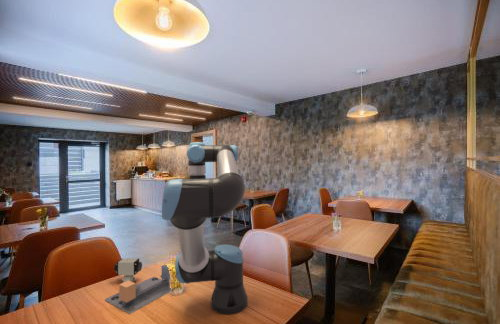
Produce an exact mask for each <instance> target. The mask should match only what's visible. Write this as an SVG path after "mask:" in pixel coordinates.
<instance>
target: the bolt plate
mask: <svg viewBox="0 0 500 324" xmlns="http://www.w3.org/2000/svg"><path fill="white" fill-rule="evenodd" d="M160 281H162V278H159V277H156V276H151V277H150V278H148V279H145V280H143V281H141V282H139V283H135V287H136V293H138V292H140V291H142V290H144V289H146V288H148V287H150V286H152V285H154V284H156V283H158V282H160ZM170 283H171V282H170V281H169V284H168V285H166V286H164V287H162V288H160V289H158V290H156V291H154V292H152V293H150V294H149V295H147V296H145V297H143V298H141V299H139V300H137V301H135V302H133V303H131V304H129V305H128V306H126V307H124V306H122V300H120V299H119V292H117V293H115V294H113V295H111V296H109V297H107V298H105V299H104V300H105V302H106V303H108V304H111V305H112V306H114V307H116V308H117V309H120V310H121V311H123V312H125V313H127V314H128V315H132V314H133V313H134V312H136V311H138V310H139V309H141V308H143V307H145V306H147V305H149V304H150V303H152V302H154V301H157V300H158V299H159V298H161V297H163V296H165V295H166V294H169V293H170V292H172V291H171V288H170Z"/></svg>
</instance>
